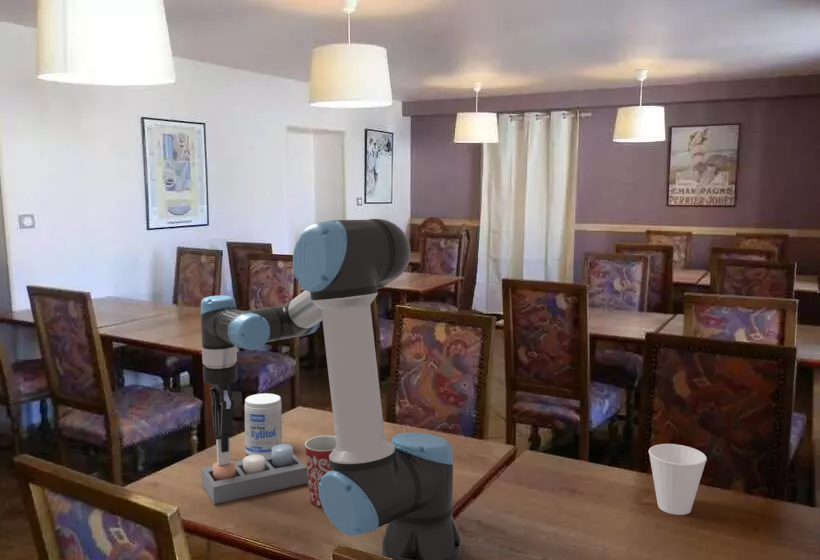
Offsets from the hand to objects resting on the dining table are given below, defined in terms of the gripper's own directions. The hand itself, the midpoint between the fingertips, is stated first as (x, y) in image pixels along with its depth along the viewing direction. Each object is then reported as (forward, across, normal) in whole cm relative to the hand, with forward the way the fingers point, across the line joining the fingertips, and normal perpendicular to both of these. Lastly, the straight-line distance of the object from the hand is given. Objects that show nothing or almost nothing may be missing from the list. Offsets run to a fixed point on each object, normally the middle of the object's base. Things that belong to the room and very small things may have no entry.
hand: (223, 463), depth 159 cm
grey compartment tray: (+7, 0, -7) cm, 10 cm away
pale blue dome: (+3, 0, -14) cm, 14 cm away
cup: (+7, -57, -84) cm, 102 cm away
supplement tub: (+7, +18, -15) cm, 24 cm away
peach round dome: (+4, 0, 0) cm, 4 cm away
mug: (+7, -15, -20) cm, 26 cm away
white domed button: (+4, 0, -7) cm, 8 cm away
